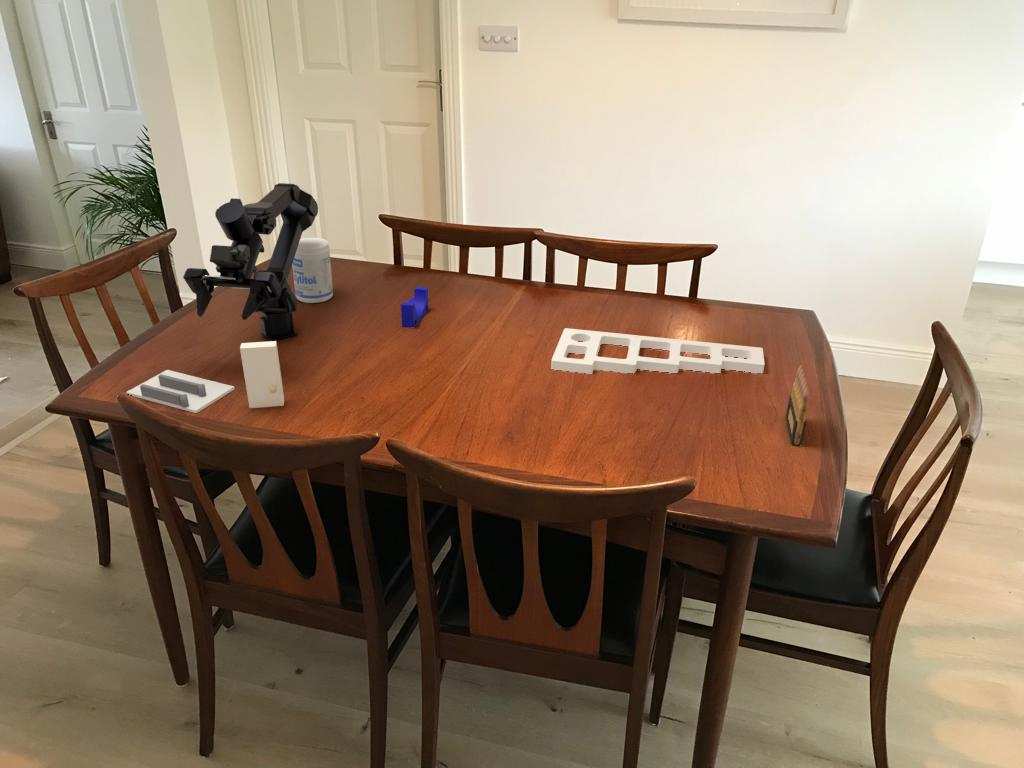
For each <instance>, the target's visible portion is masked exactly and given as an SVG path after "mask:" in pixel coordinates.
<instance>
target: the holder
mask: <svg viewBox="0 0 1024 768" xmlns="http://www.w3.org/2000/svg"><path fill="white" fill-rule="evenodd" d="M578 341H583V342H578ZM601 344H613V345H622V346H621V347H623V346H628V347H627V348H628V351H627V355H626V358H615V357H614V358H613V357H607V356H599V353H600V348H601V346H602V345H601ZM600 345H601V346H600ZM613 345H612V346H613ZM640 348H652V349H662V350H669V351H670V352H669V356H668V358H656V357H648V356H640V350H641V349H640ZM652 349H651V350H652ZM662 350H661V351H662ZM598 352H599V353H598ZM680 352H692V353H699V354H698V355H701V354H708V355H710V356H709V357H710V358H700V357H690V356H682V355H681V353H680ZM568 353H575V354H574V355H578V354H585V355H584V358H575V357H574V358H572V357H567V356H568V355H569V354H568ZM708 355H707V356H708ZM725 356H728V357H725ZM734 357H738V358H734ZM744 358H747V359H744ZM550 364H551V366H550V370H551V369H554V370H553V371H556V370H562V371H561V372H566V371H569V372H568V373H575V372H578V373H577V374H584V373H586V375H593V372H594V371H600V370H603V371H602V372H609V371H613V372H612V373H618V372H620V373H621V374H627V373H633V374H632V375H635V374H636V372H637V371H638V370H637V369H640V370H639V371H643V370H649V371H648V372H652V371H659V372H658V373H661V372H669V373H668V374H671V373H678V374H679V371H680V370H679V369H683V370H682V371H686V370H693V371H692V372H695V371H702V372H701V373H705V372H710V373H709V374H714V373H720V374H721V373H722V370H721V369H725V370H724V371H729V370H736V371H735V372H738V371H743V372H742V373H748V372H751V373H750V374H757V373H761V374H760V375H763V374H764V369H765V356H764V348H763V347H759V346H758V347H757V346H749V345H738V344H737V345H736V344H728V343H727V344H726V343H717V342H706V341H699V340H687V339H679V338H678V339H677V338H667V337H658V336H657V337H656V336H648V335H647V336H646V335H635V334H629V333H626V334H625V333H617V332H606V331H597V330H589V329H588V330H587V329H577V328H567V327H565V328H564V329H563V331H562V333H561V336H560V338H559V341H558V343H557V346H556V348H555V350H554V352H553V355H552V358H551V362H550ZM744 371H745V372H744ZM620 373H619V374H620ZM634 373H635V374H634ZM762 373H763V374H762Z"/></svg>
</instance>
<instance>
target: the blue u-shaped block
mask: <svg viewBox="0 0 1024 768" xmlns="http://www.w3.org/2000/svg"><path fill="white" fill-rule="evenodd" d="M429 308H430V307H429V287H424V286H423V287H422V286H415V288H414V295H413V297H410V298H409V300H407V302H404V301H403V302H402V303H401V304H400V312H401V327H402V328H406V327H415V328H416V326H417V325H418V324H419V323H420V321H421V320H422V319H421V318H423V317H424V316H425V315H426V314H427V312H428V311H429V310H430V309H429ZM428 309H429V310H428ZM420 319H421V320H420ZM418 322H419V323H418ZM417 323H418V324H417ZM415 325H416V326H415Z"/></svg>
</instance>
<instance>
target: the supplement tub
mask: <svg viewBox="0 0 1024 768" xmlns="http://www.w3.org/2000/svg"><path fill="white" fill-rule="evenodd" d="M330 251H331V250H330V246H329V241H328V240H327V239H324V238H319V237H305V238H300V241H299V244H298V248H297V251H296V254H295V257H294V260H293V263H292V266H291V268H292V275H293V285H294V291H295V292H294V295H295V296H296V297H297V301H300V302H301V303H305V304H315V303H316V304H319V303H324V302H326V301H329V300H331V298H333V295H334V290H333V289H334V288H333V276H332V265H331V264H332V263H331V255H330V254H331V253H330Z"/></svg>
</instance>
